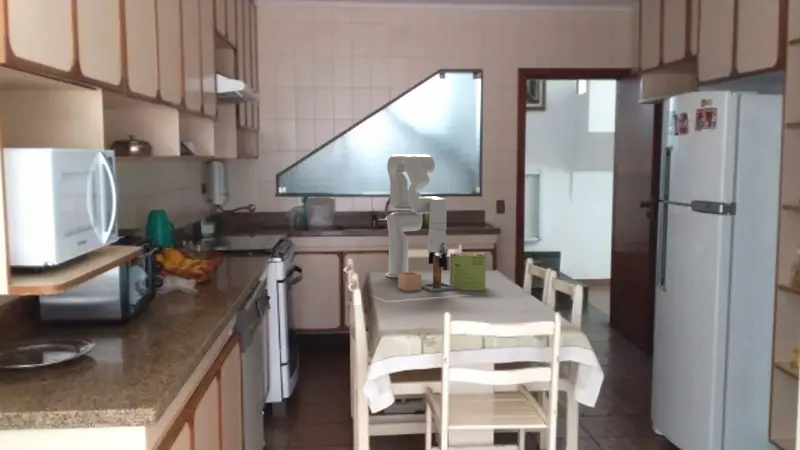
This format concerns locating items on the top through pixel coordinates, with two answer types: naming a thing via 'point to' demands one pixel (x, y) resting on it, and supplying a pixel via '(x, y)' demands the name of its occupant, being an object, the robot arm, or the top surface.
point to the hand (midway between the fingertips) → (437, 265)
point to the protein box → (467, 271)
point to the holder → (409, 281)
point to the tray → (443, 288)
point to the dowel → (436, 272)
